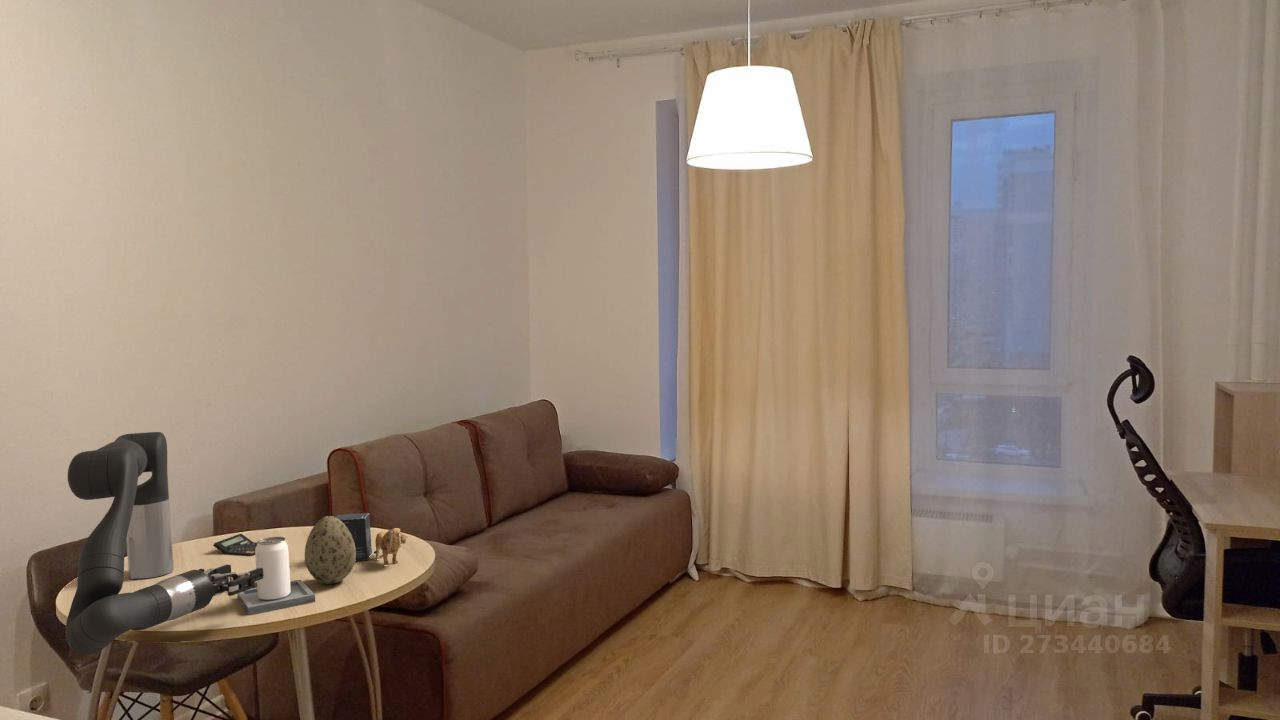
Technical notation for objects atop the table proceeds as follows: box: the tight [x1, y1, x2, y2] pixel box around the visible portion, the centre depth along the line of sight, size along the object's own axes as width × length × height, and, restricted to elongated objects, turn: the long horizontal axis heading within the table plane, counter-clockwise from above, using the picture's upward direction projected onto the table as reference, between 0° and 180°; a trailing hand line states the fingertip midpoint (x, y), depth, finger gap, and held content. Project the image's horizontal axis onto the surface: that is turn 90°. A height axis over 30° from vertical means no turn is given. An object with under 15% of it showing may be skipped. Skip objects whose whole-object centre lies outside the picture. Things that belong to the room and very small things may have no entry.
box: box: [335, 512, 373, 561], centre depth 223 cm, size 8×6×11 cm
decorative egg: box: [304, 515, 356, 585], centre depth 204 cm, size 11×11×15 cm
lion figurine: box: [373, 527, 409, 565], centre depth 220 cm, size 15×5×9 cm, turn 41°
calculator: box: [213, 533, 257, 557], centre depth 234 cm, size 9×12×3 cm
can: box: [254, 536, 291, 601], centre depth 193 cm, size 6×6×12 cm
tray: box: [236, 579, 316, 616], centre depth 194 cm, size 13×13×2 cm
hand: (245, 570), depth 186 cm, fingers open, 8 cm apart
